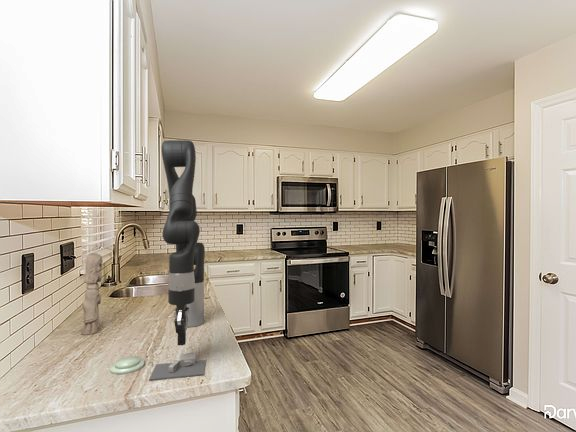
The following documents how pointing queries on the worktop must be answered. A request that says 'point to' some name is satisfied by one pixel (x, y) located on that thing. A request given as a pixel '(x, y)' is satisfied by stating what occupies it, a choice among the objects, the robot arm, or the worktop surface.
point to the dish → (127, 365)
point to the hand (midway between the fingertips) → (181, 344)
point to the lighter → (182, 362)
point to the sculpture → (92, 294)
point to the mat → (177, 371)
